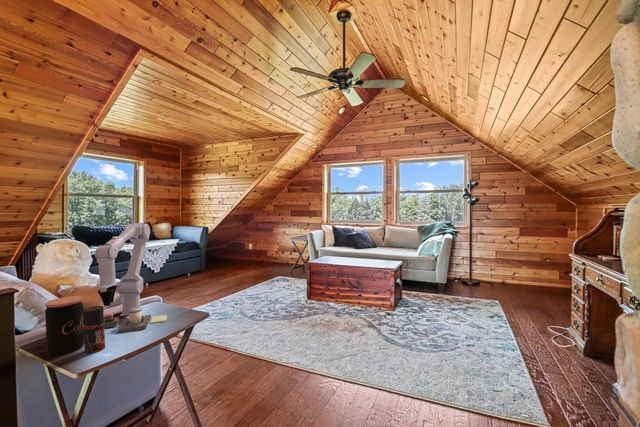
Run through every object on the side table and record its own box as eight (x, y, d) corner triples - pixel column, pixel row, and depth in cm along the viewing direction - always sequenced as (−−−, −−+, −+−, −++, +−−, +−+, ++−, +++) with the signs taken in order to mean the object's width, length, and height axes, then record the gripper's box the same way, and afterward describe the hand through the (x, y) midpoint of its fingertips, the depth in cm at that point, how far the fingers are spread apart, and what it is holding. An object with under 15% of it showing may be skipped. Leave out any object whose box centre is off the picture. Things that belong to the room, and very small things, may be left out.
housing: (125, 321, 138) (125, 318, 138) (150, 317, 142) (150, 314, 142) (117, 333, 125) (117, 329, 125) (145, 328, 129) (145, 325, 129)
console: (103, 324, 135) (102, 319, 135) (119, 322, 137) (118, 317, 137) (99, 328, 130) (99, 323, 130) (116, 326, 132) (115, 320, 132)
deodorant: (94, 354, 107) (92, 311, 107) (80, 352, 108) (78, 310, 108) (109, 346, 113) (107, 306, 113) (95, 345, 114) (94, 305, 114)
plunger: (106, 321, 134) (105, 313, 134) (114, 320, 136) (114, 312, 135) (103, 323, 131) (103, 316, 131) (112, 322, 133) (112, 314, 132)
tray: (153, 317, 142) (153, 316, 142) (167, 315, 144) (167, 314, 144) (150, 323, 135) (150, 322, 135) (165, 321, 137) (165, 320, 137)
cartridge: (130, 324, 135) (129, 308, 135) (142, 322, 137) (142, 306, 136) (127, 328, 130) (127, 311, 130) (140, 326, 132) (140, 310, 132)
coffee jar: (64, 357, 106) (62, 305, 105) (38, 355, 107) (36, 304, 107) (92, 343, 116) (90, 296, 116) (68, 341, 118) (66, 295, 118)
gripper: (101, 271, 138) (102, 300, 139) (90, 277, 125) (92, 310, 125) (119, 269, 141) (120, 298, 141) (111, 275, 127) (112, 308, 128)
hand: (108, 304), depth 133 cm, fingers open, 4 cm apart
